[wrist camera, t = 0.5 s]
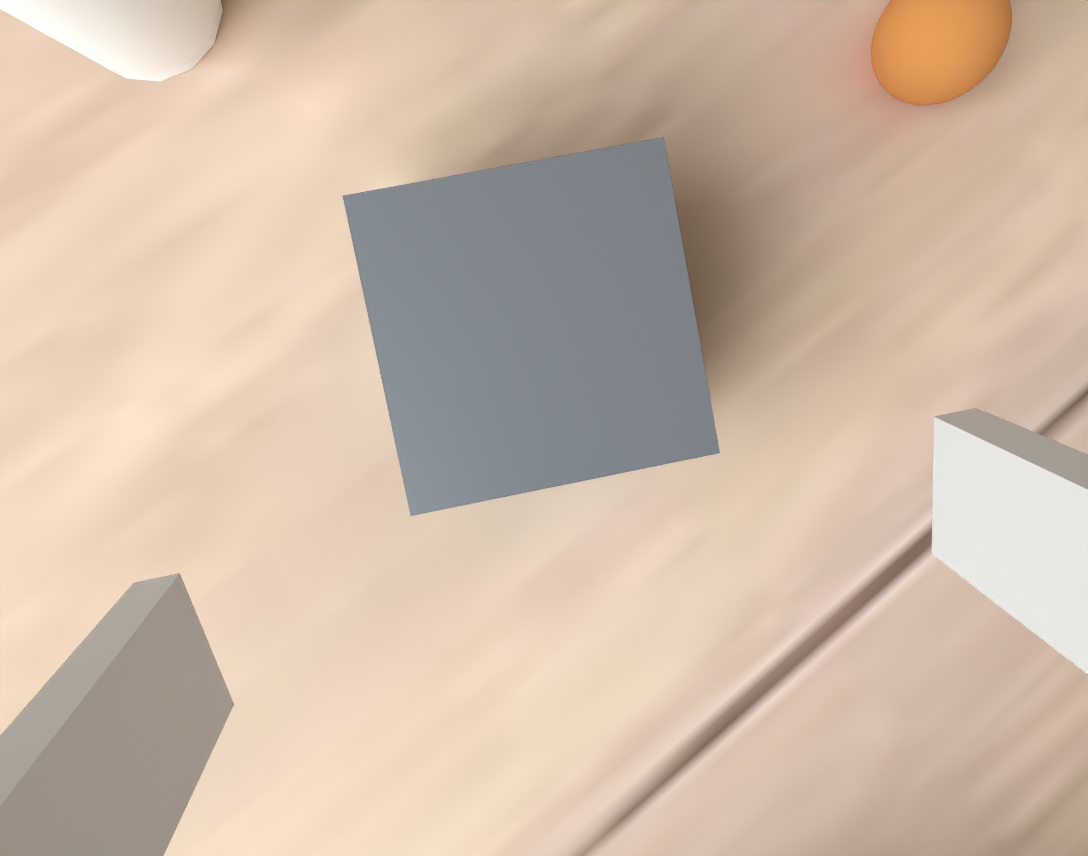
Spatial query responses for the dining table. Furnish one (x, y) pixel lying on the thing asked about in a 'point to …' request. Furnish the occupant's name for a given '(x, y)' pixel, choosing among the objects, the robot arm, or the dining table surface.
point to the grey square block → (533, 324)
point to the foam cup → (128, 31)
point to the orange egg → (938, 47)
